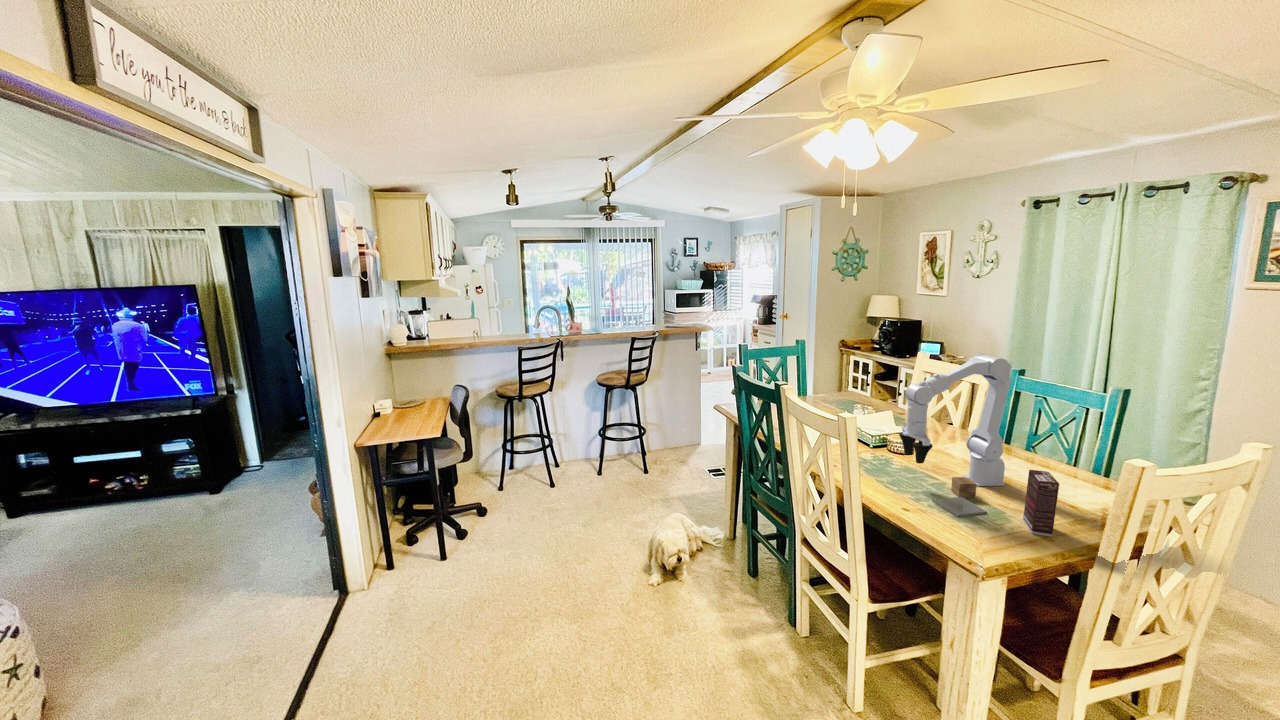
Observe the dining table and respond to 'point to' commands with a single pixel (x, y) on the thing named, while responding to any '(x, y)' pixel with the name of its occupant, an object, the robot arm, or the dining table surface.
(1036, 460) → the dining table surface
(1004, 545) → the dining table surface
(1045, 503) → the supplement box
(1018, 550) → the dining table surface
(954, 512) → the slate coaster
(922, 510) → the dining table surface
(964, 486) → the walnut cube
